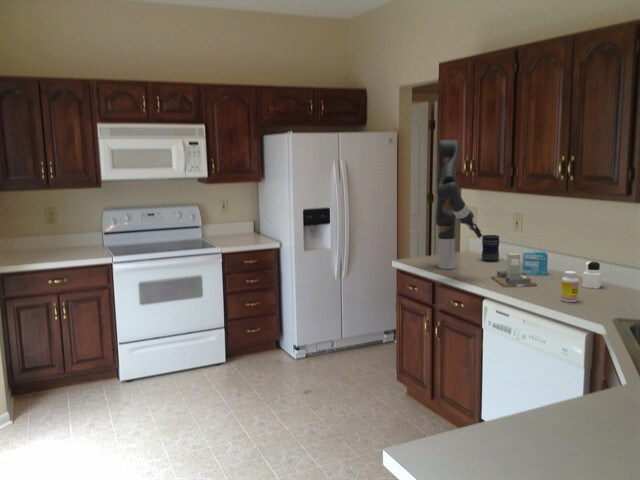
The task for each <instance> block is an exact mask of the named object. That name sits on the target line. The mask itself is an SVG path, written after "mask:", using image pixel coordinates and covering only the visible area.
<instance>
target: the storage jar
mask: <svg viewBox="0 0 640 480" xmlns="http://www.w3.org/2000/svg"><path fill="white" fill-rule="evenodd" d="M481 237H482V240H481V245H482V251H481V258H482V259H481V261H482V262H483V263H498V262H499V261H500V251H499V249H500V247H499V246H500V236H499V235H497V234H495V235H494V234H484V235H482V236H481Z"/></svg>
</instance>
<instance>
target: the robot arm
mask: <svg viewBox="0 0 640 480" xmlns="http://www.w3.org/2000/svg"><path fill="white" fill-rule="evenodd" d="M459 155H460V142H459V140H458V139H440V140H439V141H438V144H437V178H436V179H437V182H436V183H437V184H436V197H437V198H436V211H435V223H436V225H437V226H438V227H448V228H447V229H445V230H443V231H441V232H438V239H437V240H438V241H437V243H438V247H437V248H438V249H437V251H438V253H437V255H438V257H437V258H438V259H437V264H438V265H437V266H438V267H437V268H438V269H440V270H453V269H455V267H456V266H455V265H456V219H457V220H458V221H459V223H460V224H462V225H463V224H464V225H465V226H467V227H468V229H469V230H470V231H473V232H474V234H475V235H476V236H477V238H479V239H480V238H481V237H482V236H483V235H482V232H481V231H482V230H480V228H479V227H478V225H477V224H476V223H475V221H474V220H473V218H474V213H473V212H472V211H471V208H470V207H469V206H468V205H467V203H466V202H465V201H464V199H463V198H462V196H461V192H460V187H459V185H458V183H457V182H456V179H457V176H456V175H457V174H456V173H457V166H458V161H459ZM445 158H447V159H448V158H450V159H449V160H448V161H447V162H446V161H445ZM446 203H448V206H449V207H450V209H444V207H445V205H446Z"/></svg>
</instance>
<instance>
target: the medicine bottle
mask: <svg viewBox="0 0 640 480" xmlns="http://www.w3.org/2000/svg"><path fill="white" fill-rule="evenodd" d="M600 268H601V263H599V262H598V261H587V262H585V271H584V272H583V273H582V288H585V289H587V288H588V289H595V290H598V289H600V288H601V286H602V271H600Z"/></svg>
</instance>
